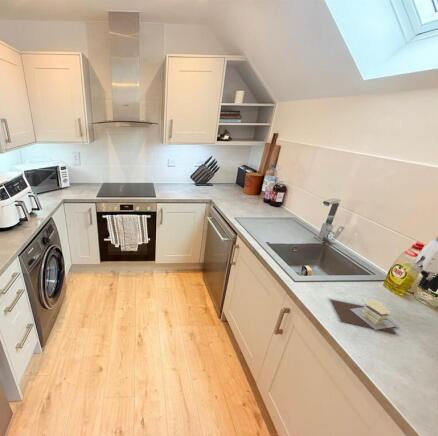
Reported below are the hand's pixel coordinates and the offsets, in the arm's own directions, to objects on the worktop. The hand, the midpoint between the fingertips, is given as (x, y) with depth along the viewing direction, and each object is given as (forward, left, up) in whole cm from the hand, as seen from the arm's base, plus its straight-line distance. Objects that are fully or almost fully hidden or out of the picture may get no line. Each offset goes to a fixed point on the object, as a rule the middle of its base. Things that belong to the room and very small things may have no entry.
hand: (427, 288), depth 80 cm
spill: (+14, 0, -17) cm, 22 cm away
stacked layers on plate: (+10, 0, -17) cm, 20 cm away
